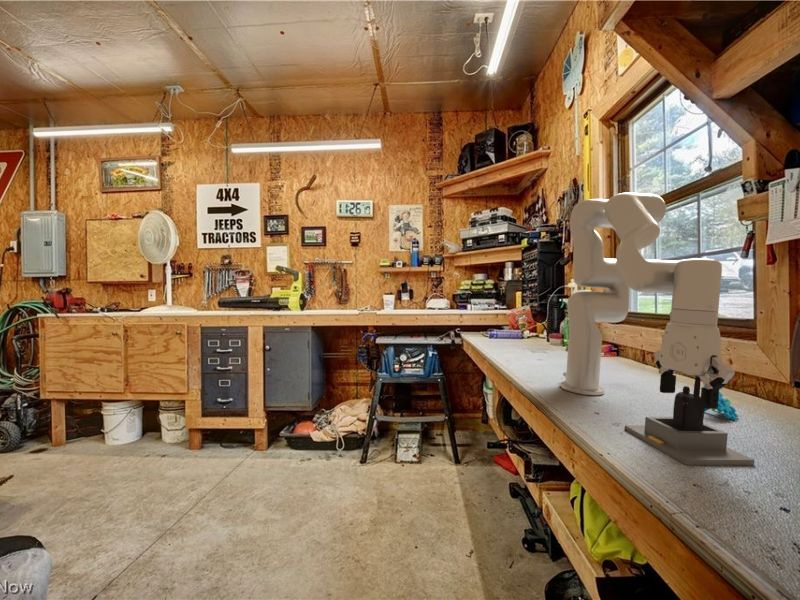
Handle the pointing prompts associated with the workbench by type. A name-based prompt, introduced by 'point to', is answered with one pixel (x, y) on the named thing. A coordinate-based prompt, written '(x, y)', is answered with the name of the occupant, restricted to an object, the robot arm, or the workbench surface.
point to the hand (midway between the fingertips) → (686, 399)
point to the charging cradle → (689, 443)
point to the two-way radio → (688, 409)
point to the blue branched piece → (725, 407)
